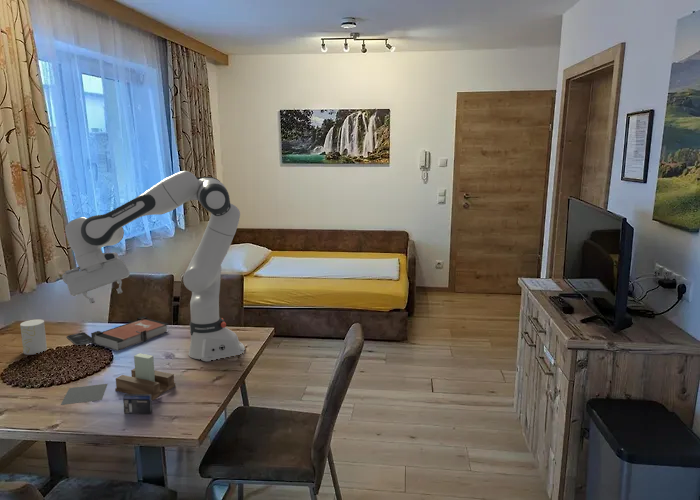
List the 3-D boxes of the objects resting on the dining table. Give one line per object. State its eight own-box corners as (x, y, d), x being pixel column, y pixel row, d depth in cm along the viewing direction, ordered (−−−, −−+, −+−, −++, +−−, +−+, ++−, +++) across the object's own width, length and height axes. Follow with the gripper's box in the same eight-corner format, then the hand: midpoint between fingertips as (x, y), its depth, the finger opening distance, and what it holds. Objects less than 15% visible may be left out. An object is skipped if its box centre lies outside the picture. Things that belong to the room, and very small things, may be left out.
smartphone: (83, 332, 220) (95, 340, 209) (84, 333, 220) (96, 342, 209) (65, 336, 214) (77, 344, 204) (65, 337, 214) (77, 346, 204)
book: (119, 352, 200) (118, 340, 199) (92, 344, 208) (91, 333, 207) (169, 333, 222) (168, 322, 221) (143, 326, 230) (142, 316, 229)
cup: (18, 352, 197) (15, 324, 194) (38, 345, 204) (35, 318, 202) (32, 355, 194) (29, 327, 191) (51, 348, 201) (48, 321, 199)
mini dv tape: (124, 413, 152) (123, 396, 151) (126, 411, 153) (125, 393, 152) (150, 414, 152) (149, 396, 151) (152, 411, 153) (151, 394, 152)
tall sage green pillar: (141, 382, 170) (139, 353, 168) (155, 385, 168) (153, 355, 166) (136, 385, 168) (134, 355, 166) (150, 388, 166) (148, 358, 164)
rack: (139, 378, 176) (138, 366, 175) (175, 386, 170) (174, 373, 170) (115, 391, 166) (114, 379, 165) (152, 400, 160) (152, 387, 159)
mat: (107, 384, 171) (107, 383, 171) (101, 400, 159) (101, 399, 159) (69, 389, 167) (69, 388, 167) (60, 405, 156) (60, 404, 156)
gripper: (59, 271, 166) (75, 309, 166) (121, 251, 176) (135, 286, 176) (60, 273, 171) (76, 310, 172) (120, 254, 181) (134, 288, 181)
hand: (106, 298), depth 174 cm, fingers open, 8 cm apart
